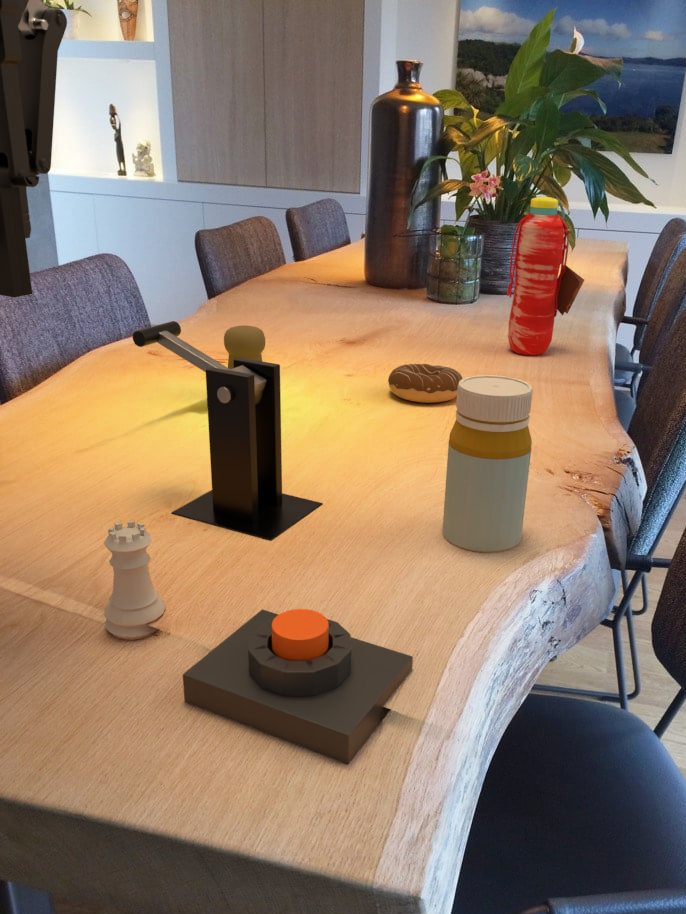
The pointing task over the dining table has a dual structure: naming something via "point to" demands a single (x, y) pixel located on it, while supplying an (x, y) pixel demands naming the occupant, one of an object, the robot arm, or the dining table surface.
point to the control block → (299, 687)
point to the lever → (189, 351)
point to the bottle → (488, 464)
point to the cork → (244, 343)
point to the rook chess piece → (131, 584)
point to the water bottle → (540, 278)
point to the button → (300, 635)
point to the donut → (424, 382)
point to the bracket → (246, 456)
